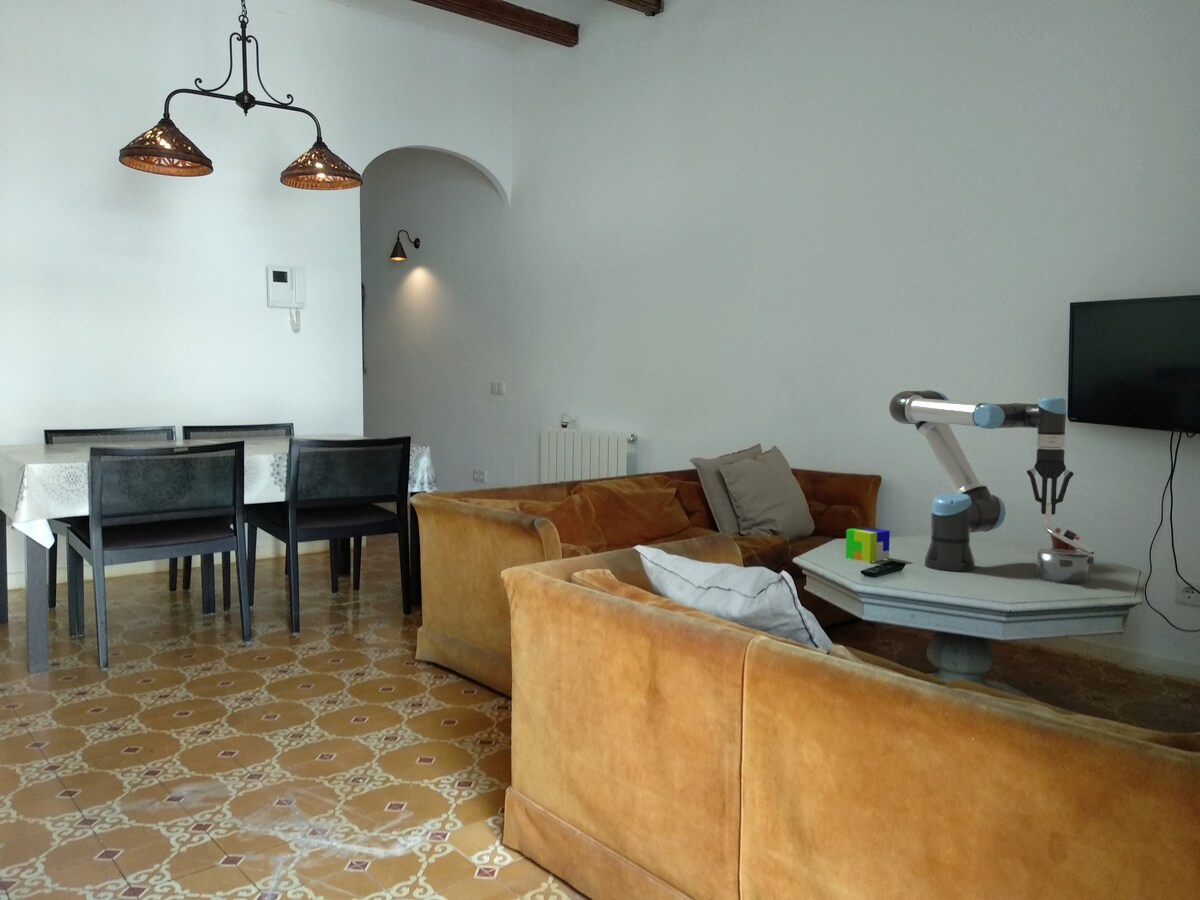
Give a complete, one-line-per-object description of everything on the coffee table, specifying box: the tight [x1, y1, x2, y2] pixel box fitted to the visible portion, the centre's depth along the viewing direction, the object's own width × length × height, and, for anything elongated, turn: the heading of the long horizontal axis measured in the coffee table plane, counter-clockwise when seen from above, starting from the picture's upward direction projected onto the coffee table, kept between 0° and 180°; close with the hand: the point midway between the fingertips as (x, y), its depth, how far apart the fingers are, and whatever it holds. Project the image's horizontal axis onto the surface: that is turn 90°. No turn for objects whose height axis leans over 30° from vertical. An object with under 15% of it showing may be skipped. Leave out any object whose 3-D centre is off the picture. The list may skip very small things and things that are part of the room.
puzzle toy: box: [845, 526, 891, 562], centre depth 295 cm, size 10×10×10 cm
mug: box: [1049, 533, 1081, 551], centre depth 281 cm, size 12×9×10 cm
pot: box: [1035, 548, 1095, 585], centre depth 265 cm, size 15×19×8 cm
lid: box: [1042, 524, 1095, 555], centre depth 264 cm, size 15×15×3 cm
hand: (1047, 524), depth 266 cm, fingers closed
